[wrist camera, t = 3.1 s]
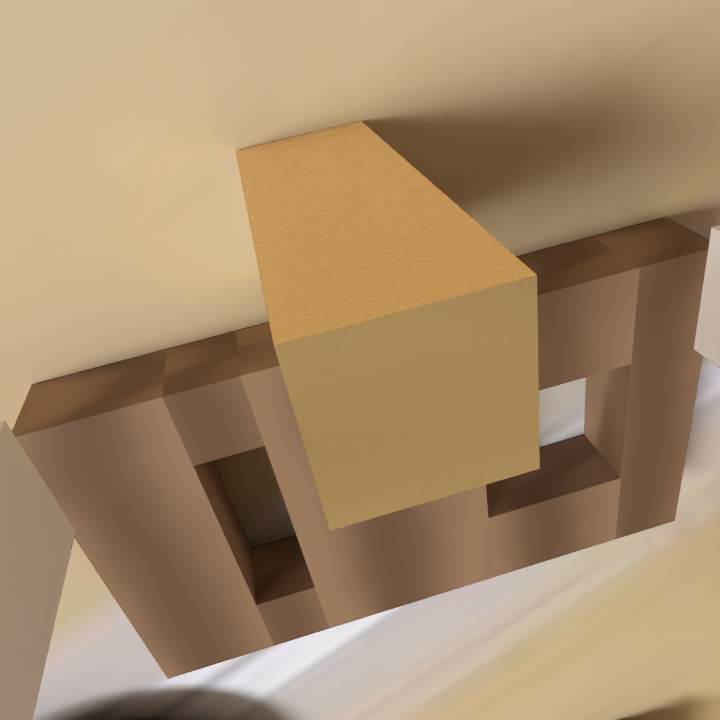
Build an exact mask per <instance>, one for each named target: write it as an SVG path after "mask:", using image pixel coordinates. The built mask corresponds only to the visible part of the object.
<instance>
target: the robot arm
mask: <svg viewBox="0 0 720 720" xmlns="http://www.w3.org/2000/svg"><path fill="white" fill-rule="evenodd" d="M694 350H696V351H697V352H698V353H700V354H701V355H702V356H704V357H705V358H707V359H708V360H709V361H711V362H712V363H714V364H715V365H716V366H718V367H719V368H720V225H719V226H715V227H711V234H710V241H709V248H708V255H707V261H706V268H705V275H704V282H703V289H702V296H701V303H700V309H699V316H698V323H697V330H696V337H695V344H694ZM74 536H75V529H74V527H73V526H72V524H71V523H70V521H69V520H68V518H67V517H66V515H65V513H64V512H63V510H62V509H61V507H60V506H59V504H58V503H57V501H56V499H55V498H54V496H53V495H52V493H51V492H50V490H49V489H48V487H47V485H46V484H45V482H44V481H43V479H42V478H41V476H40V475H39V473H38V471H37V470H36V468H35V467H34V465H33V464H32V462H31V461H30V459H29V457H28V456H27V454H26V453H25V451H24V450H23V448H22V447H21V445H20V443H19V442H18V440H17V439H16V437H15V436H14V434H13V433H12V431H11V429H10V428H9V426H8V425H7V423H6V422H5V421H3V422H0V720H32V719H33V715H34V710H35V706H36V702H37V697H38V693H39V689H40V684H41V680H42V675H43V671H44V667H45V662H46V658H47V654H48V649H49V645H50V640H51V636H52V632H53V627H54V623H55V619H56V614H57V610H58V605H59V601H60V597H61V592H62V588H63V584H64V579H65V575H66V570H67V566H68V562H69V557H70V553H71V549H72V544H73V540H74Z"/></svg>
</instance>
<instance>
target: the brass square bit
mask: <svg viewBox="0 0 720 720" xmlns="http://www.w3.org/2000/svg"><path fill="white" fill-rule="evenodd" d="M236 156H237V161H238V166H239V171H240V176H241V181H242V186H243V191H244V197H245V202H246V207H247V212H248V217H249V222H250V227H251V232H252V237H253V242H254V247H255V253H256V258H257V263H258V268H259V273H260V278H261V283H262V288H263V293H264V298H265V303H266V309H267V314H268V319H269V324H270V329H271V334H272V339H273V344H274V348H275V351H276V355H277V358H278V361H279V364H280V368H281V371H282V374H283V378H284V381H285V384H286V387H287V391H288V394H289V397H290V401H291V404H292V407H293V410H294V414H295V417H296V420H297V424H298V427H299V430H300V433H301V437H302V440H303V443H304V447H305V450H306V453H307V456H308V460H309V463H310V466H311V470H312V473H313V476H314V479H315V483H316V486H317V489H318V493H319V496H320V499H321V502H322V506H323V509H324V512H325V516H326V519H327V522H328V525H329V529H330V531H332V530H335V529H339V528H342V527H345V526H349V525H352V524H355V523H359V522H362V521H366V520H369V519H372V518H376V517H379V516H382V515H386V514H389V513H392V512H396V511H399V510H403V509H406V508H409V507H413V506H416V505H419V504H423V503H426V502H429V501H433V500H436V499H439V498H443V497H446V496H450V495H453V494H456V493H460V492H463V491H466V490H470V489H473V488H476V487H480V486H483V485H487V484H490V483H493V482H497V481H500V480H503V479H507V478H510V477H513V476H517V475H520V474H524V473H527V472H530V471H534V470H537V469H540V453H539V380H538V306H537V274H535V273H534V272H533V271H532V270H531V269H530V268H529V267H527V266H526V265H525V264H524V263H523V262H522V261H521V260H519V259H518V258H517V257H516V256H515V255H514V254H513V253H511V252H510V251H509V250H508V249H507V248H506V247H505V246H503V245H502V244H501V243H500V242H499V241H498V240H497V239H495V238H494V237H493V236H492V235H491V234H490V233H489V232H487V231H486V230H485V229H484V228H483V227H482V226H481V225H479V224H478V223H477V222H476V221H475V220H474V219H473V218H471V217H470V216H469V215H468V214H467V213H466V212H465V211H463V210H462V209H461V208H460V207H459V206H458V205H457V204H455V203H454V202H453V201H452V200H451V199H450V198H449V197H447V196H446V195H445V194H444V193H443V192H442V191H441V190H439V189H438V188H437V187H436V186H435V185H434V184H433V183H431V182H430V181H429V180H428V179H427V178H426V177H425V176H423V175H422V174H421V173H420V172H419V171H418V170H417V169H415V168H414V167H413V166H412V165H411V164H410V163H409V162H407V161H406V160H405V159H404V158H403V157H402V156H401V155H399V154H398V153H397V152H396V151H395V150H394V149H393V148H391V147H390V146H389V145H388V144H387V143H386V142H385V141H383V140H382V139H381V138H380V137H379V136H378V135H377V134H375V133H374V132H373V131H372V130H371V129H370V128H369V127H367V126H366V125H365V124H364V123H363V122H362V121H359V122H354V123H350V124H346V125H342V126H338V127H333V128H329V129H325V130H321V131H317V132H312V133H308V134H304V135H300V136H296V137H291V138H287V139H283V140H279V141H275V142H270V143H266V144H262V145H258V146H254V147H249V148H245V149H241V150H237V151H236Z"/></svg>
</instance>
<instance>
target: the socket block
mask: <svg viewBox="0 0 720 720" xmlns="http://www.w3.org/2000/svg"><path fill="white" fill-rule="evenodd" d="M709 241H710V240H709V239H707V238H705V237H703V236H701V235H699V234H697V233H695V232H693V231H691V230H689V229H687V228H685V227H683V226H681V225H679V224H677V223H675V222H673V221H671V220H669V219H667V218H666V217H665V218H661V219H657V220H653V221H650V222H646V223H642V224H638V225H635V226H631V227H627V228H623V229H619V230H616V231H612V232H608V233H604V234H601V235H597V236H593V237H589V238H585V239H582V240H578V241H574V242H570V243H567V244H563V245H559V246H555V247H551V248H548V249H544V250H540V251H536V252H533V253H529V254H525V255H521V256H517V258H518V259H519V260H521V261H522V262H523V263H524V264H525V265H526V266H527V267H529V268H530V269H531V270H532V271H533V272H534V273H535V274H537V306H538V380H539V390H543V389H546V388H550V387H553V386H556V385H560V384H563V383H567V382H570V381H574V380H577V379H581V378H584V377H587V380H586V404H585V429H584V435H582V436H578V437H575V438H571V439H568V440H565V441H561V442H558V443H554V444H551V445H548V446H544V447H541V448H539V453H540V469H537V470H534V471H530V472H527V473H524V474H520V475H517V476H513V477H510V478H507V479H503V480H500V481H497V482H493V483H490V484H487V485H483V486H480V487H476V488H473V489H470V490H466V491H463V492H460V493H456V494H453V495H450V496H446V497H443V498H439V499H436V500H433V501H429V502H426V503H423V504H419V505H416V506H413V507H409V508H406V509H403V510H399V511H396V512H392V513H389V514H386V515H382V516H379V517H376V518H372V519H369V520H366V521H362V522H359V523H355V524H352V525H349V526H345V527H342V528H339V529H335V530H332V531H330V529H329V525H328V522H327V519H326V516H325V512H324V509H323V506H322V502H321V499H320V496H319V493H318V489H317V486H316V483H315V479H314V476H313V473H312V470H311V466H310V463H309V460H308V456H307V453H306V450H305V447H304V443H303V440H302V437H301V433H300V430H299V427H298V424H297V420H296V417H295V414H294V410H293V407H292V404H291V401H290V397H289V394H288V391H287V387H286V384H285V381H284V378H283V374H282V371H281V368H280V364H279V361H278V358H277V355H276V351H275V348H274V344H273V339H272V334H271V329H270V324H269V322H268V323H264V324H261V325H257V326H253V327H249V328H245V329H242V330H238V331H234V332H230V333H227V334H223V335H219V336H215V337H211V338H208V339H204V340H200V341H196V342H193V343H189V344H185V345H181V346H177V347H174V348H170V349H166V350H162V351H159V352H155V353H151V354H147V355H143V356H140V357H136V358H132V359H128V360H125V361H121V362H117V363H113V364H109V365H106V366H102V367H98V368H94V369H90V370H87V371H83V372H79V373H75V374H72V375H68V376H64V377H60V378H56V379H53V380H49V381H45V382H41V383H38V384H34V385H31V388H30V390H29V393H28V395H27V397H26V400H25V402H24V404H23V407H22V409H21V411H20V414H19V416H18V419H17V421H16V423H15V426H14V428H13V430H12V433H13V434H14V436H15V437H16V439H17V440H18V442H19V443H20V445H21V447H22V448H23V450H24V451H25V453H26V454H27V456H28V457H29V459H30V461H31V462H32V464H33V465H34V467H35V468H36V470H37V471H38V473H39V475H40V476H41V478H42V479H43V481H44V482H45V484H46V485H47V487H48V489H49V490H50V492H51V493H52V495H53V496H54V498H55V499H56V501H57V503H58V504H59V506H60V507H61V509H62V510H63V512H64V513H65V515H66V517H67V518H68V520H69V521H70V523H71V524H72V526H73V527H74V529H75V536H74V538H75V539H76V541H77V542H78V544H79V545H80V547H81V548H82V550H83V551H84V553H85V554H86V556H87V557H88V559H89V560H90V562H91V563H92V565H93V566H94V568H95V569H96V571H97V572H98V574H99V576H100V577H101V579H102V580H103V582H104V583H105V585H106V586H107V588H108V589H109V591H110V592H111V594H112V595H113V597H114V598H115V600H116V601H117V603H118V604H119V606H120V607H121V609H122V610H123V612H124V613H125V615H126V616H127V618H128V619H129V621H130V622H131V624H132V625H133V627H134V628H135V630H136V631H137V633H138V634H139V636H140V637H141V639H142V640H143V642H144V643H145V645H146V646H147V648H148V649H149V651H150V652H151V654H152V655H153V657H154V658H155V660H156V661H157V663H158V664H159V666H160V667H161V669H162V670H163V672H164V673H165V675H166V676H167V678H168V679H169V678H172V677H175V676H178V675H182V674H185V673H188V672H191V671H194V670H198V669H201V668H204V667H207V666H210V665H214V664H217V663H220V662H223V661H226V660H230V659H233V658H236V657H239V656H242V655H246V654H249V653H252V652H255V651H258V650H262V649H265V648H268V647H271V646H274V645H278V644H281V643H284V642H287V641H291V640H294V639H297V638H300V637H303V636H307V635H310V634H313V633H316V632H319V631H323V630H326V629H329V628H332V627H335V626H339V625H342V624H345V623H348V622H351V621H355V620H358V619H361V618H364V617H367V616H371V615H374V614H377V613H380V612H383V611H387V610H390V609H393V608H396V607H399V606H403V605H406V604H409V603H412V602H415V601H419V600H422V599H425V598H428V597H431V596H435V595H438V594H441V593H444V592H448V591H451V590H454V589H457V588H460V587H464V586H467V585H470V584H473V583H476V582H480V581H483V580H486V579H489V578H492V577H496V576H499V575H502V574H505V573H508V572H512V571H515V570H518V569H521V568H524V567H528V566H531V565H534V564H537V563H540V562H544V561H547V560H550V559H553V558H556V557H560V556H563V555H566V554H569V553H572V552H576V551H579V550H582V549H585V548H588V547H592V546H595V545H598V544H601V543H605V542H608V541H611V540H614V539H617V538H621V537H624V536H627V535H630V534H633V533H637V532H640V531H643V530H646V529H649V528H653V527H656V526H659V525H662V524H665V523H669V522H672V521H675V516H676V510H677V504H678V498H679V492H680V486H681V480H682V474H683V468H684V462H685V456H686V450H687V444H688V438H689V433H690V427H691V421H692V415H693V409H694V403H695V397H696V391H697V385H698V379H699V373H700V367H701V361H702V355H701V354H700V353H698V352H697V351H696V350H694V344H695V337H696V330H697V323H698V316H699V309H700V303H701V296H702V289H703V282H704V275H705V268H706V261H707V255H708V248H709ZM263 446H265V448H266V451H267V454H268V456H269V459H270V462H271V465H272V468H273V471H274V473H275V476H276V479H277V482H278V485H279V488H280V490H281V493H282V496H283V499H284V502H285V505H286V507H287V510H288V513H289V516H290V519H291V522H292V524H293V527H294V530H295V533H296V536H294V537H290V538H287V539H283V540H280V541H277V542H273V543H270V544H267V545H263V546H260V547H257V548H253V549H251V547H250V545H249V542H248V540H247V538H246V535H245V533H244V530H243V528H242V526H241V523H240V521H239V519H238V516H237V514H236V512H235V509H234V507H233V505H232V502H231V500H230V497H229V495H228V493H227V490H226V488H225V486H224V483H223V481H222V479H221V476H220V474H219V471H218V469H217V467H216V464H215V462H214V460H217V459H220V458H224V457H227V456H231V455H234V454H238V453H242V452H245V451H249V450H252V449H256V448H259V447H263Z"/></svg>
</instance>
